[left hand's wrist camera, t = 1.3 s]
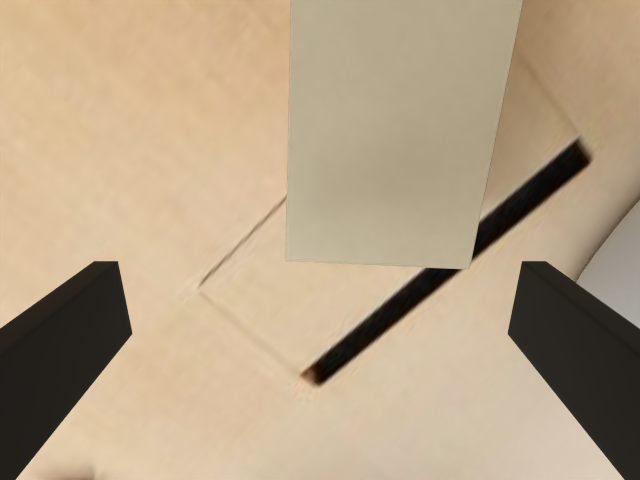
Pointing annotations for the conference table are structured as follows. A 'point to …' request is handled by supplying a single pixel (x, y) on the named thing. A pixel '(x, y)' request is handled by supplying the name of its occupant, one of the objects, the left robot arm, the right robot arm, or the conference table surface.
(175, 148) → the conference table surface
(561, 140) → the conference table surface
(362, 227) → the cabinet
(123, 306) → the left robot arm
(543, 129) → the conference table surface
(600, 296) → the projector
